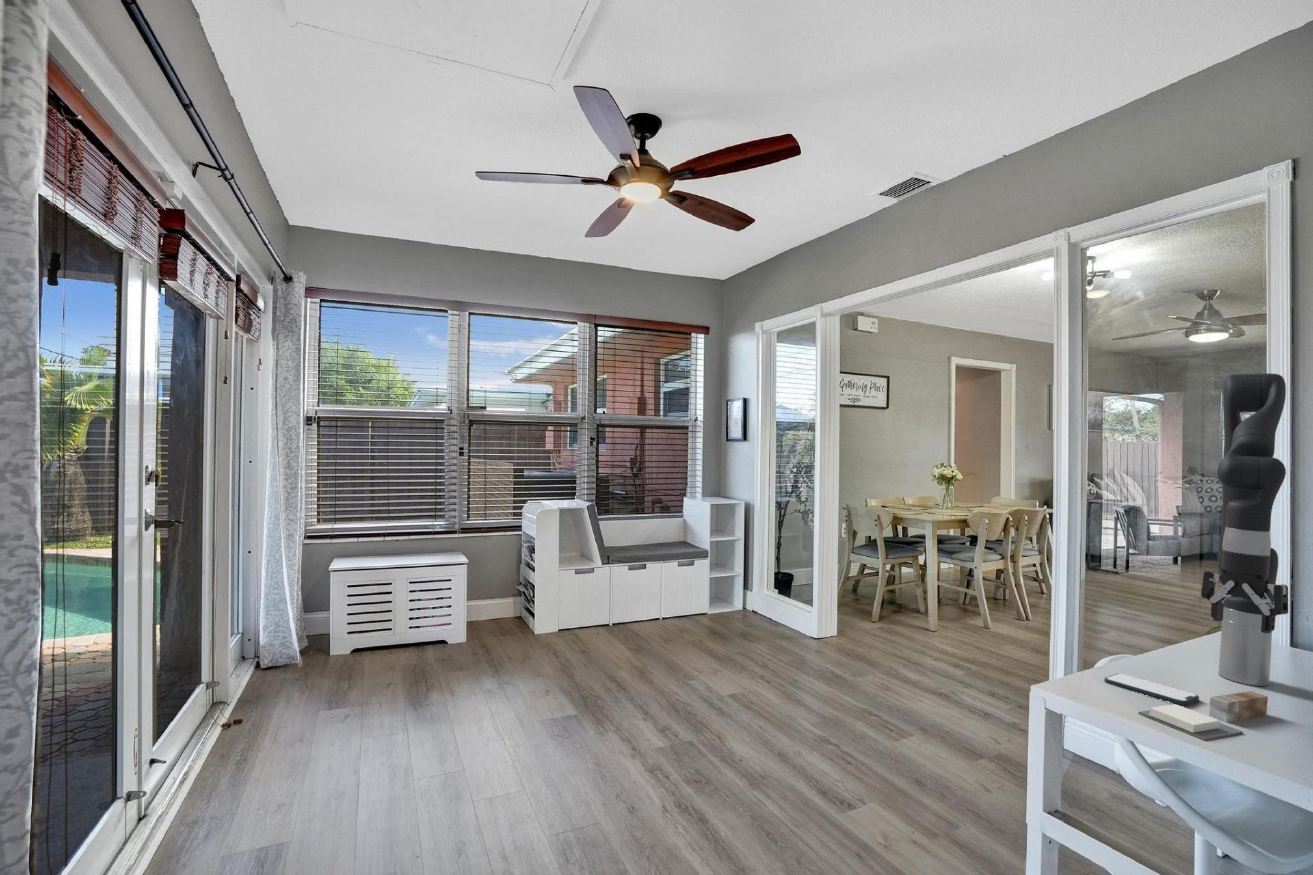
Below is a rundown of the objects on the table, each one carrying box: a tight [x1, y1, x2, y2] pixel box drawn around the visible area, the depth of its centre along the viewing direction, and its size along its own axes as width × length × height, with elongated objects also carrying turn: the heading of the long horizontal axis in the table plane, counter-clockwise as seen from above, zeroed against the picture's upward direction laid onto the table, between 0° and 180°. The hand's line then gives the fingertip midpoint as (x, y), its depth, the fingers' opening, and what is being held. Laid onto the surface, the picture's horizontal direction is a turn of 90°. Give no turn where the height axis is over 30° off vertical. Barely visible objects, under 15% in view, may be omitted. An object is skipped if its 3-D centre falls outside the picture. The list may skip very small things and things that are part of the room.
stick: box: [1208, 690, 1269, 723], centre depth 138 cm, size 14×3×4 cm, turn 111°
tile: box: [1149, 704, 1220, 733], centre depth 132 cm, size 2×8×8 cm
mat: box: [1138, 709, 1244, 742], centre depth 132 cm, size 12×12×1 cm
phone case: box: [1103, 673, 1200, 708], centre depth 150 cm, size 9×2×16 cm
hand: (1241, 626), depth 139 cm, fingers open, 8 cm apart
